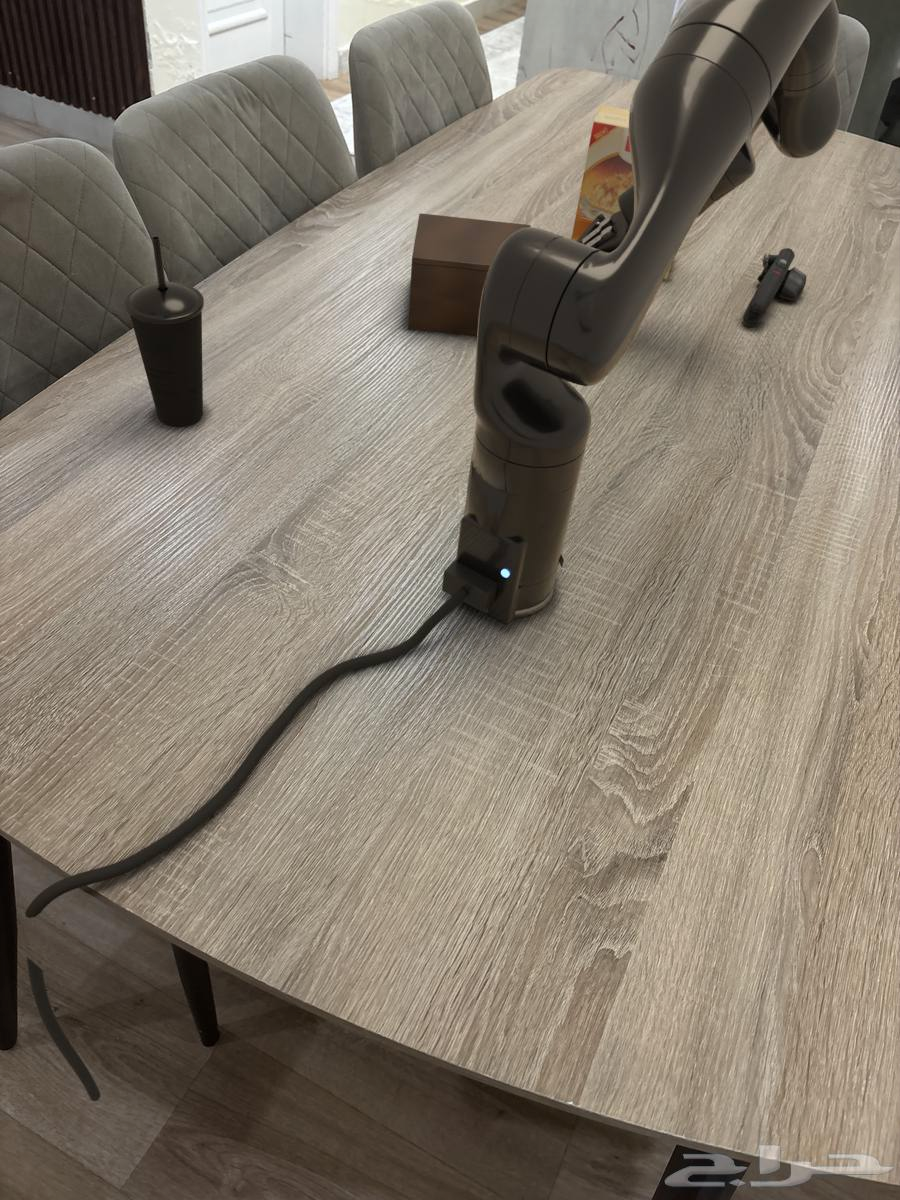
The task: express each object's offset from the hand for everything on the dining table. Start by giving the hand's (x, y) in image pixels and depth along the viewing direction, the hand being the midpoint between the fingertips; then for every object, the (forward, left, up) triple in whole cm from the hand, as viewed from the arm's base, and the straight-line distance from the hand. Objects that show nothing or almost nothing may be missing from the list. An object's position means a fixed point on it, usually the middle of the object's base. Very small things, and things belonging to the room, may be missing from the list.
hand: (549, 284), depth 122 cm
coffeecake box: (+23, 0, -5) cm, 23 cm away
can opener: (+26, -22, -5) cm, 34 cm away
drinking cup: (-46, +20, -5) cm, 51 cm away
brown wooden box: (-5, +9, -5) cm, 11 cm away
